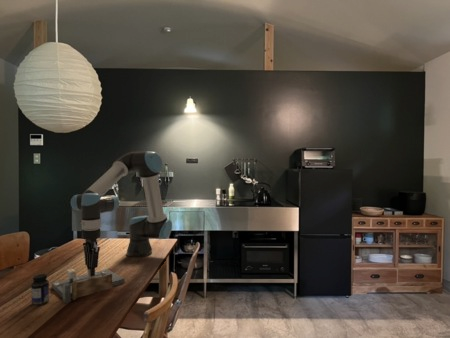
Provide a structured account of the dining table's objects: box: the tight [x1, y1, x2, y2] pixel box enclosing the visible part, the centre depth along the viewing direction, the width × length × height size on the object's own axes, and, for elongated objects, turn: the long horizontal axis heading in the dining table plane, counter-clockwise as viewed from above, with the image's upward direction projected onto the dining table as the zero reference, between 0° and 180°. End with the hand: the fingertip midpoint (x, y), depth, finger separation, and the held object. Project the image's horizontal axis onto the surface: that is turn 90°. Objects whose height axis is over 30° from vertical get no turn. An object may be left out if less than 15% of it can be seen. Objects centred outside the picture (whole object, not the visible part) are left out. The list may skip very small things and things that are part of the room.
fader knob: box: [66, 268, 77, 282], centre depth 142 cm, size 2×4×5 cm, turn 44°
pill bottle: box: [30, 273, 50, 307], centre depth 125 cm, size 6×6×11 cm
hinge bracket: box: [62, 283, 72, 304], centre depth 126 cm, size 2×3×7 cm, turn 45°
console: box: [51, 268, 125, 299], centre depth 143 cm, size 26×18×3 cm
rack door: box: [71, 274, 113, 301], centre depth 134 cm, size 17×2×7 cm, turn 135°
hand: (91, 282), depth 136 cm, fingers closed
